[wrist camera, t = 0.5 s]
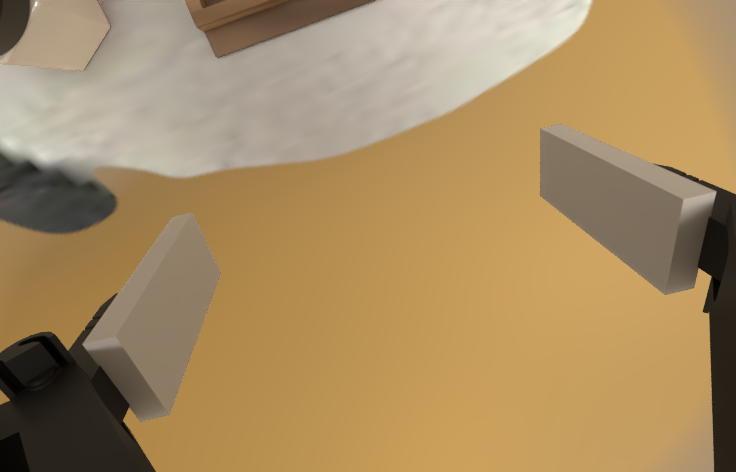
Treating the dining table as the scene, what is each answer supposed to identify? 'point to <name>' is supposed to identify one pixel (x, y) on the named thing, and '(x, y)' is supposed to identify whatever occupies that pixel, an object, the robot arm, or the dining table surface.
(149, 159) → the dining table surface
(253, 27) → the wooden tray
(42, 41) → the jar
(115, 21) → the dining table surface
